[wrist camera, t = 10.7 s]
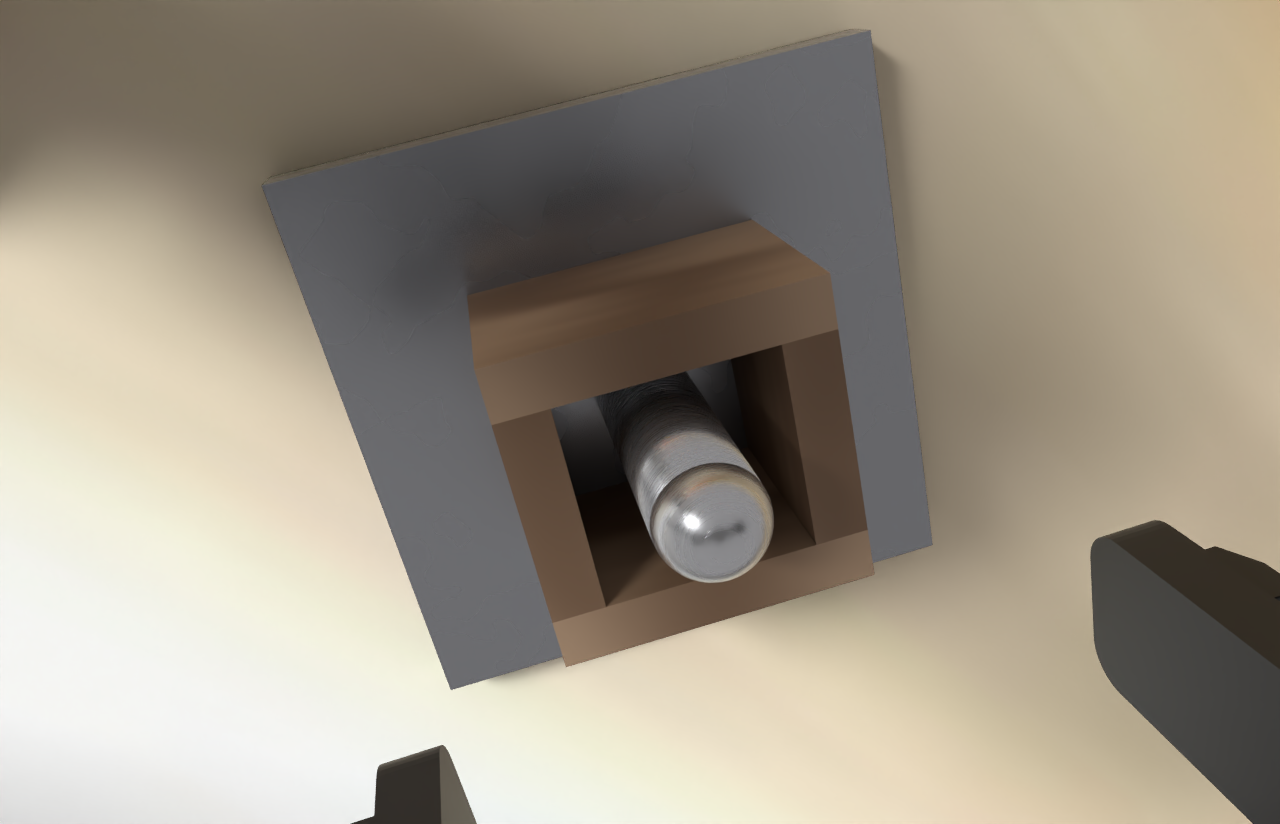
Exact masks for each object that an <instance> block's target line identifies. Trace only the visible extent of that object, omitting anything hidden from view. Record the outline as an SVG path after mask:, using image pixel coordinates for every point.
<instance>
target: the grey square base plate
mask: <svg viewBox="0 0 1280 824" xmlns="http://www.w3.org/2000/svg"><path fill="white" fill-rule="evenodd" d="M262 188H263V191H264V193H265V196H266V199H267V201H268V204H269V207H270V209H271V212H272V215H273V217H274V220H275V223H276V225H277V228H278V231H279V233H280V236H281V239H282V241H283V244H284V247H285V249H286V252H287V255H288V257H289V260H290V263H291V265H292V268H293V271H294V273H295V276H296V279H297V281H298V284H299V287H300V289H301V292H302V295H303V297H304V300H305V303H306V305H307V308H308V311H309V313H310V316H311V319H312V321H313V324H314V327H315V329H316V332H317V335H318V337H319V340H320V343H321V345H322V348H323V351H324V353H325V356H326V359H327V361H328V364H329V367H330V369H331V372H332V375H333V377H334V380H335V383H336V385H337V388H338V391H339V393H340V396H341V399H342V401H343V404H344V407H345V409H346V412H347V415H348V417H349V420H350V423H351V425H352V428H353V430H354V433H355V436H356V438H357V441H358V444H359V446H360V449H361V452H362V454H363V457H364V460H365V462H366V465H367V468H368V470H369V473H370V476H371V478H372V481H373V484H374V486H375V489H376V492H377V494H378V497H379V500H380V502H381V505H382V508H383V510H384V513H385V516H386V518H387V521H388V524H389V526H390V529H391V532H392V534H393V537H394V540H395V542H396V545H397V548H398V550H399V553H400V556H401V558H402V561H403V564H404V566H405V569H406V572H407V574H408V577H409V580H410V582H411V585H412V588H413V590H414V593H415V596H416V598H417V601H418V604H419V606H420V609H421V612H422V614H423V617H424V620H425V622H426V625H427V628H428V630H429V633H430V636H431V638H432V641H433V644H434V646H435V649H436V652H437V654H438V657H439V660H440V662H441V665H442V668H443V670H444V673H445V676H446V678H447V681H448V684H449V686H450V689H451V690H453V689H456V688H459V687H463V686H466V685H469V684H473V683H476V682H479V681H483V680H486V679H489V678H493V677H496V676H499V675H503V674H506V673H509V672H513V671H516V670H519V669H522V668H526V667H529V666H532V665H536V664H539V663H542V662H546V661H549V660H552V659H556V658H559V657H562V656H563V655H562V652H561V649H560V646H559V643H558V639H557V636H556V633H555V630H554V626H553V623H552V620H551V617H550V613H549V610H548V607H547V604H546V600H545V597H544V594H543V591H542V588H541V584H540V581H539V578H538V575H537V571H536V568H535V565H534V562H533V558H532V555H531V552H530V549H529V545H528V542H527V539H526V536H525V533H524V529H523V526H522V523H521V520H520V516H519V513H518V510H517V507H516V503H515V500H514V497H513V494H512V490H511V487H510V484H509V481H508V477H507V474H506V471H505V468H504V465H503V461H502V458H501V455H500V452H499V448H498V445H497V442H496V439H495V435H494V432H493V429H492V426H491V422H490V419H489V416H488V413H487V410H486V406H485V403H484V400H483V397H482V393H481V390H480V387H479V384H478V380H477V377H476V374H475V371H474V363H473V352H472V342H471V332H470V321H469V311H468V301H467V295H471V294H475V293H478V292H482V291H486V290H490V289H494V288H497V287H501V286H505V285H509V284H512V283H516V282H520V281H524V280H527V279H531V278H535V277H539V276H542V275H546V274H550V273H554V272H557V271H561V270H565V269H569V268H572V267H576V266H580V265H584V264H588V263H591V262H595V261H599V260H603V259H606V258H610V257H614V256H618V255H621V254H625V253H629V252H633V251H636V250H640V249H644V248H648V247H651V246H655V245H659V244H663V243H667V242H670V241H674V240H678V239H682V238H685V237H689V236H693V235H697V234H700V233H704V232H708V231H712V230H715V229H719V228H723V227H727V226H730V225H734V224H738V223H742V222H745V221H749V220H754V221H755V222H757V223H758V224H759V225H761V226H762V227H764V228H765V229H767V230H768V231H770V232H771V233H773V234H774V235H776V236H777V237H779V238H780V239H781V240H783V241H784V242H786V243H787V244H789V245H790V246H792V247H793V248H795V249H796V250H798V251H799V252H800V253H802V254H803V255H805V256H806V257H808V258H809V259H811V260H812V261H814V262H815V263H817V264H818V265H819V266H821V267H822V268H824V269H825V270H827V271H828V272H830V276H831V283H832V289H833V296H834V303H835V310H836V317H837V323H838V330H839V337H840V344H841V351H842V357H843V364H844V371H845V378H846V385H847V391H848V398H849V405H850V412H851V419H852V425H853V432H854V439H855V446H856V453H857V460H858V466H859V473H860V480H861V487H862V494H863V500H864V507H865V514H866V521H867V528H868V534H869V541H870V548H871V555H872V562H873V563H874V562H878V561H881V560H884V559H887V558H891V557H894V556H897V555H901V554H904V553H907V552H911V551H914V550H917V549H921V548H924V547H927V546H931V545H932V536H931V528H930V520H929V511H928V503H927V495H926V487H925V478H924V470H923V462H922V453H921V445H920V437H919V429H918V420H917V412H916V404H915V395H914V387H913V379H912V371H911V362H910V354H909V346H908V337H907V329H906V321H905V313H904V304H903V296H902V288H901V279H900V271H899V263H898V254H897V246H896V238H895V230H894V221H893V213H892V205H891V196H890V188H889V180H888V172H887V163H886V155H885V147H884V138H883V130H882V122H881V114H880V105H879V97H878V89H877V80H876V72H875V64H874V56H873V47H872V39H871V31H870V30H860V29H849V30H846V31H842V32H838V33H834V34H830V35H826V36H822V37H818V38H814V39H810V40H806V41H802V42H798V43H795V44H791V45H787V46H783V47H779V48H775V49H771V50H767V51H763V52H759V53H755V54H751V55H747V56H744V57H740V58H736V59H732V60H728V61H724V62H720V63H716V64H712V65H708V66H704V67H700V68H696V69H693V70H689V71H685V72H681V73H677V74H673V75H669V76H665V77H661V78H657V79H653V80H649V81H645V82H642V83H638V84H634V85H630V86H626V87H622V88H618V89H614V90H610V91H606V92H602V93H598V94H594V95H591V96H587V97H583V98H579V99H575V100H571V101H567V102H563V103H559V104H555V105H551V106H547V107H543V108H539V109H536V110H532V111H528V112H524V113H520V114H516V115H512V116H508V117H504V118H500V119H496V120H492V121H488V122H485V123H481V124H477V125H473V126H469V127H465V128H461V129H457V130H453V131H449V132H445V133H441V134H437V135H434V136H430V137H426V138H422V139H418V140H414V141H410V142H406V143H402V144H398V145H394V146H390V147H386V148H383V149H379V150H375V151H371V152H367V153H363V154H359V155H355V156H351V157H347V158H343V159H339V160H335V161H332V162H328V163H324V164H320V165H316V166H312V167H308V168H304V169H300V170H296V171H292V172H288V173H284V174H281V175H277V176H273V177H270V178H269V179H268V180H267V181H266V182H265V183H264V184H263V185H262ZM551 411H552V415H553V418H554V422H555V425H556V429H557V432H558V436H559V440H560V443H561V447H562V450H563V454H564V457H565V461H566V464H567V468H568V472H569V475H570V479H571V482H572V486H573V489H574V493H575V496H578V495H581V494H585V493H588V492H592V491H595V490H599V489H602V488H606V487H609V486H613V485H616V484H620V483H623V482H627V481H628V482H629V484H630V487H631V489H632V492H633V494H634V497H635V499H636V502H637V504H638V507H639V509H640V512H641V514H642V517H643V519H644V522H645V524H646V527H647V529H648V532H649V534H650V537H651V539H652V542H653V544H654V546H655V548H656V550H657V552H658V554H659V555H660V557H661V558H662V559H663V560H664V561H665V563H666V564H667V565H668V566H669V567H670V568H672V569H673V570H674V571H676V572H677V573H679V574H680V575H682V576H684V577H686V578H689V579H691V580H695V581H699V582H705V583H718V582H724V581H729V580H732V579H735V578H737V577H739V576H741V575H743V574H744V573H746V572H748V571H749V570H750V569H751V568H753V567H754V566H755V565H756V564H757V563H758V562H759V560H760V559H761V558H762V557H763V555H764V554H765V552H766V550H767V548H768V546H769V544H770V541H771V538H772V534H773V528H774V513H773V507H772V503H771V500H770V497H769V495H768V493H767V491H766V489H765V487H764V486H763V484H762V483H761V481H760V480H759V478H758V477H757V475H756V474H755V472H754V471H753V469H752V468H751V466H750V465H749V463H748V462H747V460H746V459H745V457H744V456H743V454H742V453H741V451H740V450H739V449H743V448H746V447H748V445H747V440H746V435H745V430H744V425H743V420H742V414H741V409H740V404H739V399H738V394H737V389H736V384H735V379H734V374H733V368H732V363H731V359H728V360H725V361H721V362H718V363H714V364H710V365H707V366H703V367H700V368H696V369H692V370H689V371H685V372H682V373H678V374H674V375H671V376H667V377H664V378H660V379H656V380H653V381H649V382H646V383H642V384H638V385H635V386H631V387H627V388H624V389H620V390H617V391H613V392H609V393H606V394H602V395H599V396H595V397H591V398H588V399H584V400H581V401H577V402H573V403H570V404H566V405H563V406H559V407H555V408H552V409H551Z"/></svg>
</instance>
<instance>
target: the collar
mask: <svg viewBox="0 0 1280 824" xmlns="http://www.w3.org/2000/svg"><path fill="white" fill-rule="evenodd" d="M467 301H468V311H469V321H470V332H471V342H472V352H473V363H474V371H475V374H476V377H477V380H478V384H479V387H480V390H481V393H482V397H483V400H484V403H485V406H486V410H487V413H488V416H489V419H490V422H491V426H492V429H493V432H494V435H495V439H496V442H497V445H498V448H499V452H500V455H501V458H502V461H503V465H504V468H505V471H506V474H507V477H508V481H509V484H510V487H511V490H512V494H513V497H514V500H515V503H516V507H517V510H518V513H519V516H520V520H521V523H522V526H523V529H524V533H525V536H526V539H527V542H528V545H529V549H530V552H531V555H532V558H533V562H534V565H535V568H536V571H537V575H538V578H539V581H540V584H541V588H542V591H543V594H544V597H545V600H546V604H547V607H548V610H549V613H550V617H551V620H552V623H553V626H554V630H555V633H556V636H557V639H558V643H559V646H560V649H561V652H562V655H563V659H564V662H565V665H566V667H568V666H572V665H575V664H578V663H582V662H585V661H588V660H592V659H595V658H598V657H602V656H605V655H608V654H612V653H615V652H618V651H622V650H625V649H628V648H632V647H635V646H638V645H642V644H645V643H648V642H652V641H655V640H658V639H662V638H665V637H668V636H672V635H675V634H678V633H682V632H685V631H688V630H692V629H695V628H698V627H702V626H705V625H708V624H712V623H715V622H718V621H722V620H725V619H728V618H732V617H735V616H738V615H742V614H745V613H748V612H752V611H755V610H758V609H762V608H765V607H768V606H772V605H775V604H778V603H782V602H785V601H788V600H792V599H795V598H798V597H802V596H805V595H808V594H812V593H815V592H818V591H822V590H825V589H828V588H832V587H835V586H838V585H842V584H845V583H848V582H852V581H855V580H858V579H862V578H865V577H868V576H872V575H874V568H873V562H872V555H871V548H870V541H869V534H868V528H867V521H866V514H865V507H864V500H863V494H862V487H861V480H860V473H859V466H858V460H857V453H856V446H855V439H854V432H853V425H852V419H851V412H850V405H849V398H848V391H847V385H846V378H845V371H844V364H843V357H842V351H841V344H840V337H839V330H838V323H837V317H836V310H835V303H834V296H833V289H832V283H831V276H830V272H828V271H827V270H825V269H824V268H822V267H821V266H819V265H818V264H817V263H815V262H814V261H812V260H811V259H809V258H808V257H806V256H805V255H803V254H802V253H800V252H799V251H798V250H796V249H795V248H793V247H792V246H790V245H789V244H787V243H786V242H784V241H783V240H781V239H780V238H779V237H777V236H776V235H774V234H773V233H771V232H770V231H768V230H767V229H765V228H764V227H762V226H761V225H759V224H758V223H757V222H755V221H754V220H749V221H745V222H742V223H738V224H734V225H730V226H727V227H723V228H719V229H715V230H712V231H708V232H704V233H700V234H697V235H693V236H689V237H685V238H682V239H678V240H674V241H670V242H667V243H663V244H659V245H655V246H651V247H648V248H644V249H640V250H636V251H633V252H629V253H625V254H621V255H618V256H614V257H610V258H606V259H603V260H599V261H595V262H591V263H588V264H584V265H580V266H576V267H572V268H569V269H565V270H561V271H557V272H554V273H550V274H546V275H542V276H539V277H535V278H531V279H527V280H524V281H520V282H516V283H512V284H509V285H505V286H501V287H497V288H494V289H490V290H486V291H482V292H478V293H475V294H471V295H467ZM728 359H731V363H732V368H733V374H734V379H735V384H736V389H737V394H738V399H739V404H740V409H741V414H742V420H743V425H744V430H745V435H746V440H747V445H748V447H746V448H743V449H739V450H740V451H741V453H742V454H743V456H744V457H745V459H746V460H747V462H748V463H749V465H750V466H751V468H752V469H753V471H754V472H755V474H756V475H757V477H758V478H759V480H760V481H761V483H762V484H763V486H764V487H765V489H766V491H767V493H768V495H769V497H770V500H771V503H772V507H773V513H774V528H773V534H772V538H771V541H770V544H769V546H768V548H767V550H766V552H765V554H764V555H763V557H762V558H761V559H760V560H759V562H758V563H757V564H756V565H755V566H754V567H753V568H751V569H750V570H749V571H748V572H746V573H744V574H743V575H741V576H739V577H737V578H735V579H732V580H729V581H724V582H718V583H705V582H699V581H695V580H691V579H689V578H686V577H684V576H682V575H680V574H679V573H677V572H676V571H674V570H673V569H672V568H670V567H669V566H668V565H667V564H666V563H665V561H664V560H663V559H662V558H661V557H660V555H659V554H658V552H657V550H656V548H655V546H654V544H653V542H652V539H651V537H650V534H649V532H648V529H647V527H646V524H645V522H644V519H643V517H642V514H641V512H640V509H639V507H638V504H637V502H636V499H635V497H634V494H633V492H632V489H631V487H630V484H629V482H628V481H627V482H623V483H620V484H616V485H613V486H609V487H606V488H602V489H599V490H595V491H592V492H588V493H585V494H581V495H578V496H575V493H574V489H573V486H572V482H571V479H570V475H569V472H568V468H567V464H566V461H565V457H564V454H563V450H562V447H561V443H560V440H559V436H558V432H557V429H556V425H555V422H554V418H553V415H552V411H551V409H552V408H555V407H559V406H563V405H566V404H570V403H573V402H577V401H581V400H584V399H588V398H591V397H595V396H599V395H602V394H606V393H609V392H613V391H617V390H620V389H624V388H627V387H631V386H635V385H638V384H642V383H646V382H649V381H653V380H656V379H660V378H664V377H667V376H671V375H674V374H678V373H682V372H685V371H689V370H692V369H696V368H700V367H703V366H707V365H710V364H714V363H718V362H721V361H725V360H728Z"/></svg>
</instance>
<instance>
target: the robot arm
mask: <svg viewBox="0 0 1280 824" xmlns="http://www.w3.org/2000/svg"><path fill="white" fill-rule="evenodd" d="M1091 580H1092V603H1093V626H1094V642H1095V648H1096V652H1097V655H1098V658H1099V661H1100V663H1101V665H1102V667H1103V670H1104V672H1105V673H1106V675H1107V677H1108V678H1109V680H1110V681H1111V683H1112V684H1113V686H1114V687H1115V688H1116V689H1117V690H1118V692H1119V693H1120V694H1121V695H1122V696H1123V697H1124V698H1125V699H1126V700H1127V701H1128V702H1129V703H1131V704H1132V705H1133V706H1134V707H1135V708H1136V709H1137V710H1138V711H1139V712H1140V713H1141V714H1142V715H1143V716H1144V717H1145V718H1146V719H1147V720H1148V721H1149V722H1150V723H1151V724H1152V725H1153V726H1154V727H1155V728H1156V729H1157V730H1158V731H1159V732H1160V733H1161V734H1162V735H1163V736H1164V737H1165V738H1166V739H1167V740H1168V741H1169V742H1170V743H1171V744H1172V745H1173V746H1174V747H1175V748H1176V749H1177V750H1178V751H1179V752H1180V753H1182V754H1183V755H1184V756H1185V757H1186V758H1187V759H1188V760H1189V761H1190V762H1191V763H1192V764H1193V765H1194V766H1195V767H1196V768H1197V769H1198V770H1199V771H1200V772H1201V773H1202V774H1203V775H1204V776H1205V777H1206V778H1207V779H1208V780H1209V781H1210V782H1211V783H1212V784H1213V785H1214V786H1215V787H1216V788H1217V789H1218V790H1219V791H1220V792H1221V793H1222V794H1223V795H1224V796H1225V797H1226V798H1227V799H1228V800H1229V801H1230V802H1231V803H1232V804H1234V805H1235V806H1236V807H1237V808H1238V809H1239V810H1240V811H1241V812H1242V813H1243V814H1244V815H1245V816H1246V817H1247V818H1248V819H1249V820H1250V821H1251V822H1252V823H1253V824H1280V573H1278V572H1277V571H1275V570H1274V569H1272V568H1271V567H1269V566H1268V565H1266V564H1265V563H1262V562H1259V561H1256V560H1254V559H1251V558H1248V557H1245V556H1242V555H1239V554H1236V553H1233V552H1230V551H1227V550H1225V549H1222V548H1219V547H1216V546H1215V547H1212V548H1209V549H1203V548H1202V547H1200V546H1199V545H1197V544H1196V543H1194V542H1193V541H1192V540H1190V539H1189V538H1187V537H1186V536H1184V535H1183V534H1181V533H1180V532H1179V531H1177V530H1176V529H1174V528H1173V527H1171V526H1170V525H1168V524H1166V523H1165V522H1162V521H1157V520H1155V521H1150V522H1147V523H1144V524H1141V525H1138V526H1134V527H1131V528H1128V529H1125V530H1122V531H1119V532H1116V533H1113V534H1109V535H1106V536H1103V537H1100V538H1098V539H1096V540H1095V541H1094V542H1093V544H1092V547H1091ZM351 824H477V823H476V820H475V818H474V815H473V813H472V810H471V808H470V805H469V803H468V800H467V797H466V795H465V792H464V790H463V787H462V785H461V782H460V779H459V777H458V774H457V772H456V769H455V767H454V764H453V762H452V759H451V757H450V754H449V752H448V750H447V749H446V747H445V746H444V745H440V746H437V747H434V748H431V749H428V750H425V751H422V752H419V753H415V754H412V755H409V756H406V757H403V758H400V759H397V760H393V761H390V762H387V763H384V764H381V765H379V767H378V770H377V778H376V796H375V815H374V816H373V817H370V818H367V819H364V820H361V821H358V822H354V823H351Z"/></svg>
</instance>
